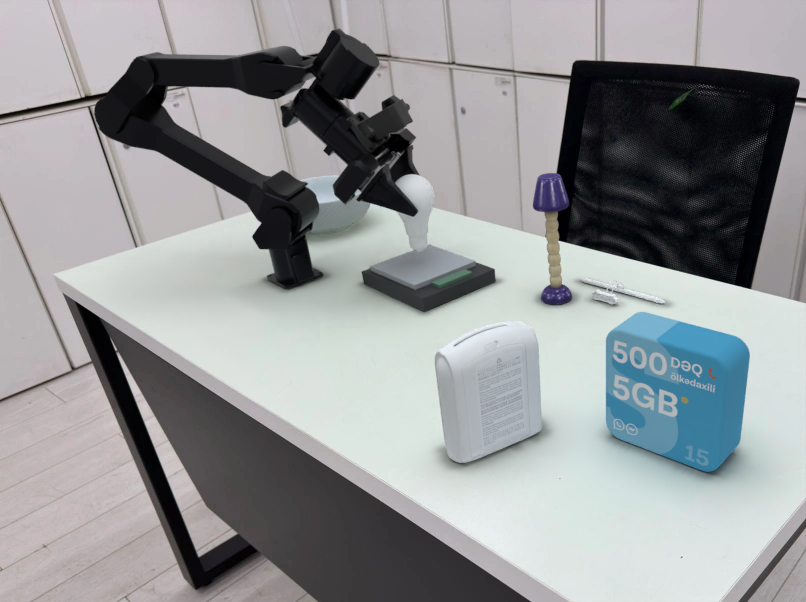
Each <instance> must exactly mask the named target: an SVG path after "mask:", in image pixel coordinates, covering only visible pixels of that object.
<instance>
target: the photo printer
mask: <svg viewBox="0 0 806 602" xmlns="http://www.w3.org/2000/svg"><path fill="white" fill-rule="evenodd" d="M434 370H435V378H436V385H437V386H436V387H437V394H438V402H439V410H440V417H441V426H442V433H443V440H444V446H445V448H446V454H447V456H448V458H450V460H452V461H454V462H456V463H460V464H462V463H464V464H466V463H469V462H470V463H471V462H473V461H475V460H479V459H481V458H483V457H485V456H488V455H491V454H493V453H495V452H498V451H500V450H502V449H505V448H507V447H509V446H511V445H514V444H516V443H518V442H521V441H524V440H526V439H528V438H531V437H532V436H534V435H536V434H538V433H540V432H541V430H542V429H543V415H542V413H543V412H542V393H541V392H542V391H541V373H540V372H541V371H540V348H539V341H538V338H537V335H536V332H535V331H534V328H533V327H532V326H531V325H529V324H526V323H525V321H519V320H518V321H517V320H515V321H514V320H509V321H501V322H494V323H490V324H487V325H484V326H483V325H482V326H480V327H477V328H473V329H472V330H469V331H467V332H465V333H463V334H461V335H458V336H457V337H455V338H454V339H452V340H450V341H449V342H447V343H446V344H445V345H443V346H442V347H441V348H440V349H438V350H437V351H436V353H435V354H434Z"/></svg>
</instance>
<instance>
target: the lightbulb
mask: <svg viewBox="0 0 806 602" xmlns="http://www.w3.org/2000/svg"><path fill="white" fill-rule="evenodd" d="M419 175H420V174H419ZM419 175H416V174H409V175H405V176H403V177H401V178H399V179H398V180H397V181H396V182H395V184H396V185H397V186H398V187H399V188H400V189H401V191H402V192H403V193H404V194H405V195H406V196H407V197H408V198H409V200H410V201H411V202H412V203H413V204H414V206H415V207H416V208H417V210H418V213H417V214H416V215H415V216H414V217H412V216H409V215H406V214H403V213H400V212H397V211H395V212H396V213H397V215H398V216H399V217H400V219H401V221H402V223H403V225H404V228H405V233H406V235H407V236H408V241H409V246H410V249H411V250H412V251H413V250H416V251H417V252H421V251H423V250H424V249H425V248H427V246H428V245H429V244H428V243H429V242H428V241H429V240H428V233H429V220H430V216H431V213H432V211H433V209H434V206H435V202H436V193H435V190H434V187H433V185H432V184H431V182H430V181H429V180H428V179H427V178H425V177H424V176H421V175H420V176H419Z"/></svg>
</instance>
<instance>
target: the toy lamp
mask: <svg viewBox="0 0 806 602" xmlns="http://www.w3.org/2000/svg"><path fill="white" fill-rule="evenodd" d="M569 200H570V199H569V197H568V192H567V190H566V187H565V184H564V180H563V178H562V176H561V175H560V174H559V173H557V172H547V173H542V174H540V175H539V176H538V177H537V179H536V183H535V189H534V195H533V200H532V208H533V210H534V211H536V212H541V213H544V218H545V221H544V222H545V223H544V226H545V230H546V233H545V239H546V242H547V244H546V251H547V263H548V273H549V284H548V285H546V286H545V287H544V289H543V290H542V292H541V295H540V300H541V302H543V303H545V304H547V305H562V304H565V303H568V302H569V301H572V298H573V294H572V291H571V289H570V287H568V286H567V285H565V284H563V277H562V265H561V262H562V257H561V254H560V251H561V245H560V242H559V240H560V233H559V230H558V229H559V221H558V216H559V212H560V211H564V210H565V209H567V208H568V207H569V206H570V201H569Z"/></svg>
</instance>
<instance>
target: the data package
mask: <svg viewBox="0 0 806 602" xmlns="http://www.w3.org/2000/svg"><path fill="white" fill-rule="evenodd" d="M750 359H751V353H750V349H749V346H748V345H747V343H746V342H745V341H744V340H743V339H742V338H740V337H739V336H736V335H734V334H730V333H726V332H722V331H719V330H714V329H711V328H707V327H704V326H699V325H696V324H692V323H689V322H684V321H681V320H677V319H673V318H669V317H665V316H661V315H658V314H653V313H650V312H648V311H647V312H646V311H638V312H636V313H634V314H632V315H630V317H628V318H626V319H625V320H624V321H622V322H621V323H619V324H618V325H617V326H615V327H614V328H612V329H611V330H610V331H609V332H608V333H607V335H606V337H605V424H606V427H607V429H608V431H609V432H610V434H611V435H612V436H614V437H615V438H616V439H618V440H621V441H623V442H625V443H629V444H631V445H634V446H637V447H639V448H642V449H644V450H647V451H649V452H651V453H654V454H657V455H659V456H663V457H665V458H667V459H670V460H673V461H676V462H678V463H681V464H684V465H686V466H689V467H690V468H691V467H692V468H694V469H697V470H699V471H702V472H707V473H709V472H713V471H716V470H717V469H718V468H719V467H720V466H721V465H722V464H723V463H724V462H725V460H727V458H728V457H729V456H730V455H731V454H732V453H733V452H734V451H735V449H737V447H738V446H739V445H740V442H741V437H742V429H743V420H744V411H745V404H746V403H745V402H746V394H747V386H748V377H749V367H750Z"/></svg>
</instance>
